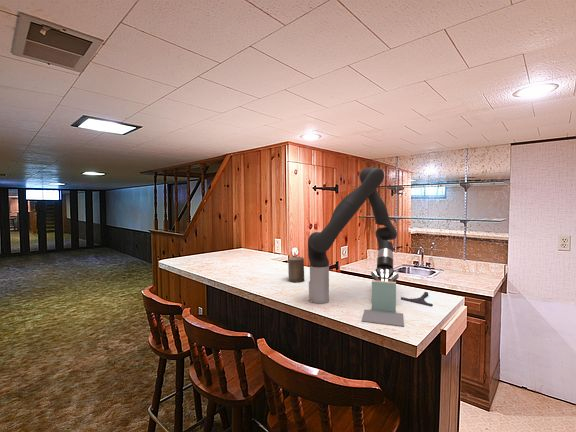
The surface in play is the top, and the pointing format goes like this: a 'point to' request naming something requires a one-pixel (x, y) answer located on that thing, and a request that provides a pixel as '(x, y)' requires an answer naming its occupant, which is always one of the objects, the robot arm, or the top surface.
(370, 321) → the mat
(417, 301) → the bracket
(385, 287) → the tile
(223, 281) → the top surface
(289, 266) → the pillar candle
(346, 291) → the top surface
